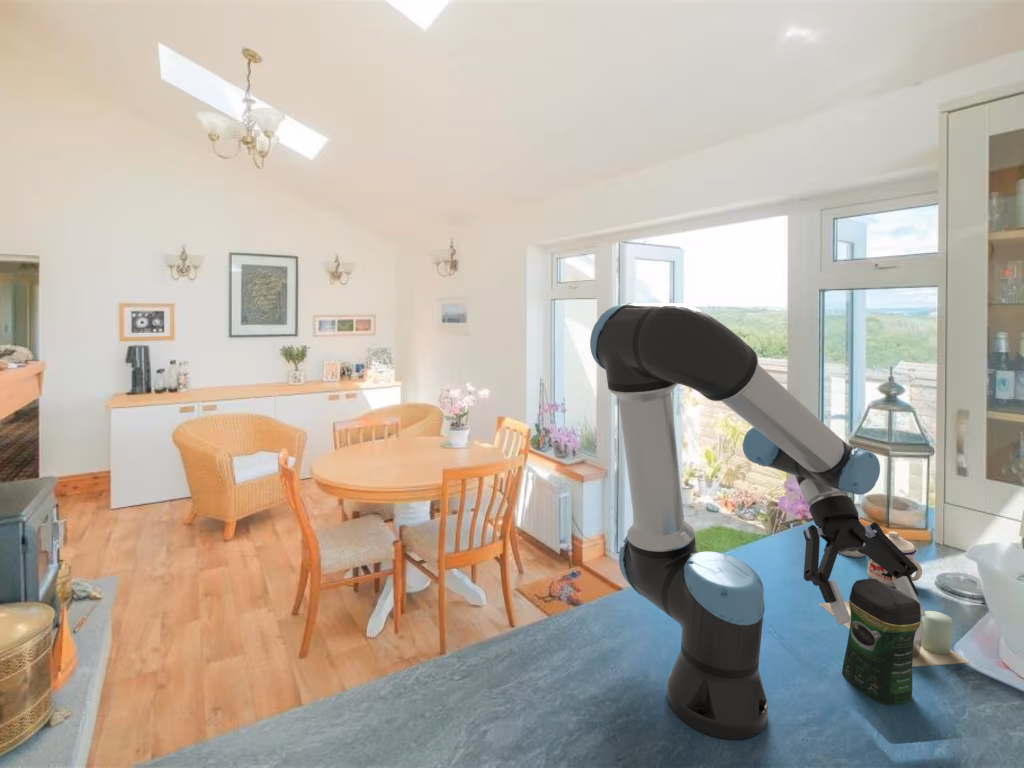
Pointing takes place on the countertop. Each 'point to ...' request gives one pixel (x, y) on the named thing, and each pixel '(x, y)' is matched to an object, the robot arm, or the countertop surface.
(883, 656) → the coffee jar
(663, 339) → the robot arm
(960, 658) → the birch board
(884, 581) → the teacup with lid
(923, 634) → the sage tin
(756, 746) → the countertop surface
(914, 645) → the shiny silver cylinder
